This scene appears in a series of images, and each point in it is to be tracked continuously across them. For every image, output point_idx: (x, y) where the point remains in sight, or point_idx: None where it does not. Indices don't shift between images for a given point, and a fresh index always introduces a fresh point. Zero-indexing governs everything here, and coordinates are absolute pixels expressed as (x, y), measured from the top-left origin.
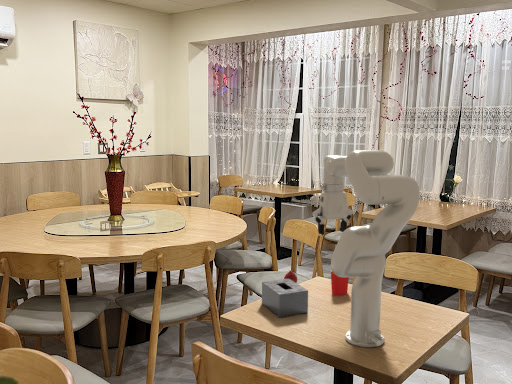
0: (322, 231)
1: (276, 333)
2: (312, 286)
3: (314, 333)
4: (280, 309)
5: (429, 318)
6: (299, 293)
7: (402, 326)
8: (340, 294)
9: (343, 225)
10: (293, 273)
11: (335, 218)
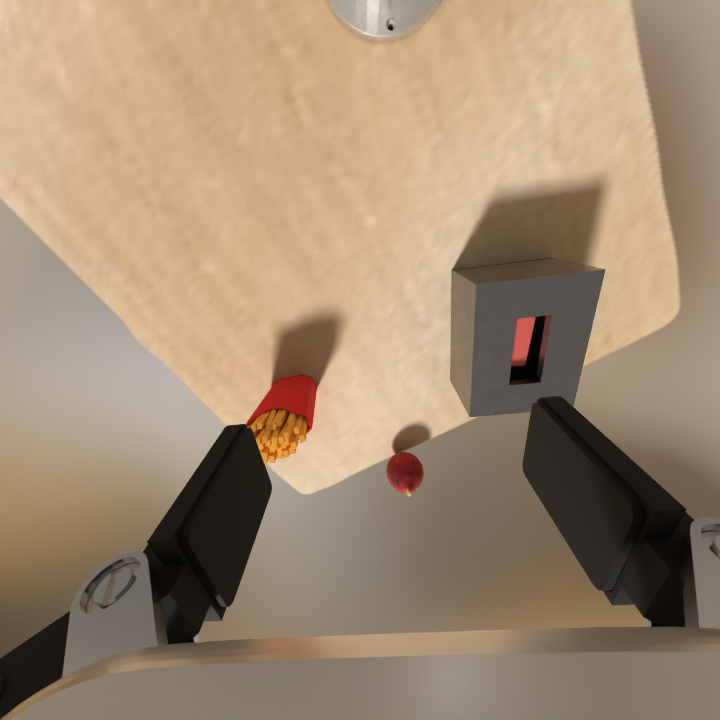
0: (583, 423)
1: (639, 125)
2: (344, 449)
3: (524, 82)
4: (562, 262)
5: (67, 104)
6: (511, 278)
7: (190, 50)
8: (296, 377)
9: (221, 514)
10: (401, 481)
11: (458, 647)
